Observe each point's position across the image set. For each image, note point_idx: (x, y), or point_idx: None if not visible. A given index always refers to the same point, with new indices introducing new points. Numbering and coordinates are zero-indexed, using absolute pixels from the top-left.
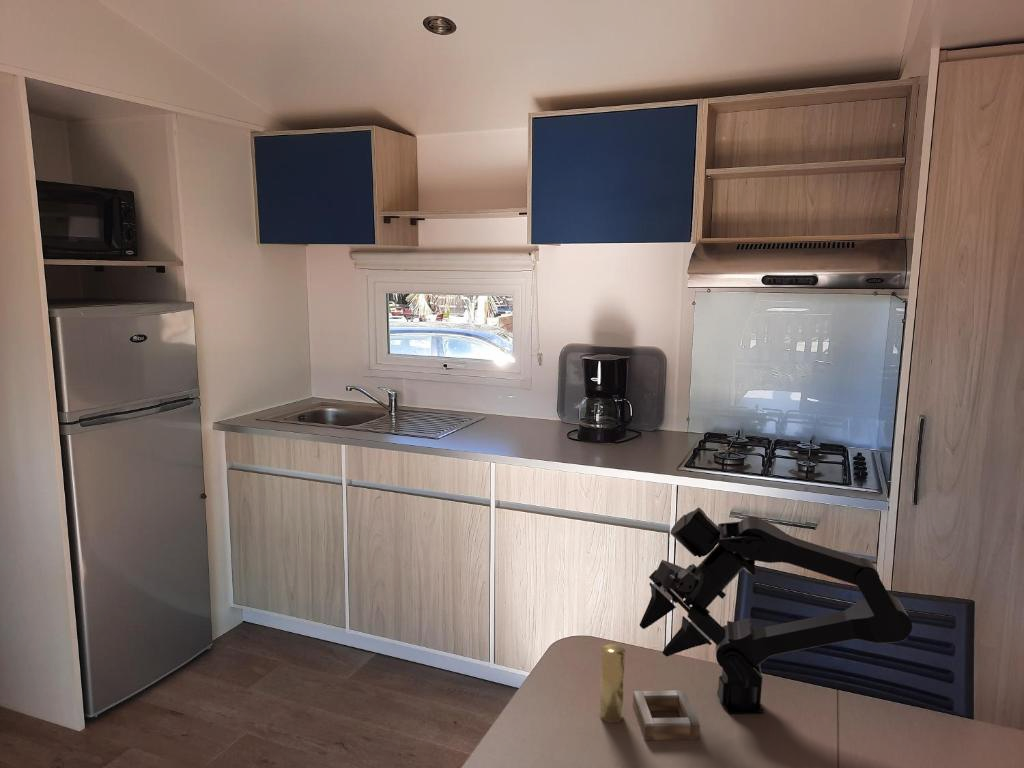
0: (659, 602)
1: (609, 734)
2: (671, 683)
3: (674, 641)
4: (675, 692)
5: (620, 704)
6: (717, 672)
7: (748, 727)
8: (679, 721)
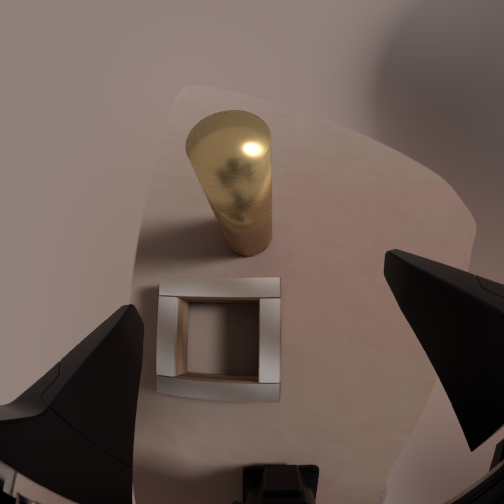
0: (499, 355)
1: (199, 224)
2: (361, 384)
3: (70, 352)
4: (269, 379)
5: (224, 234)
6: (384, 471)
7: (206, 480)
8: (160, 352)
